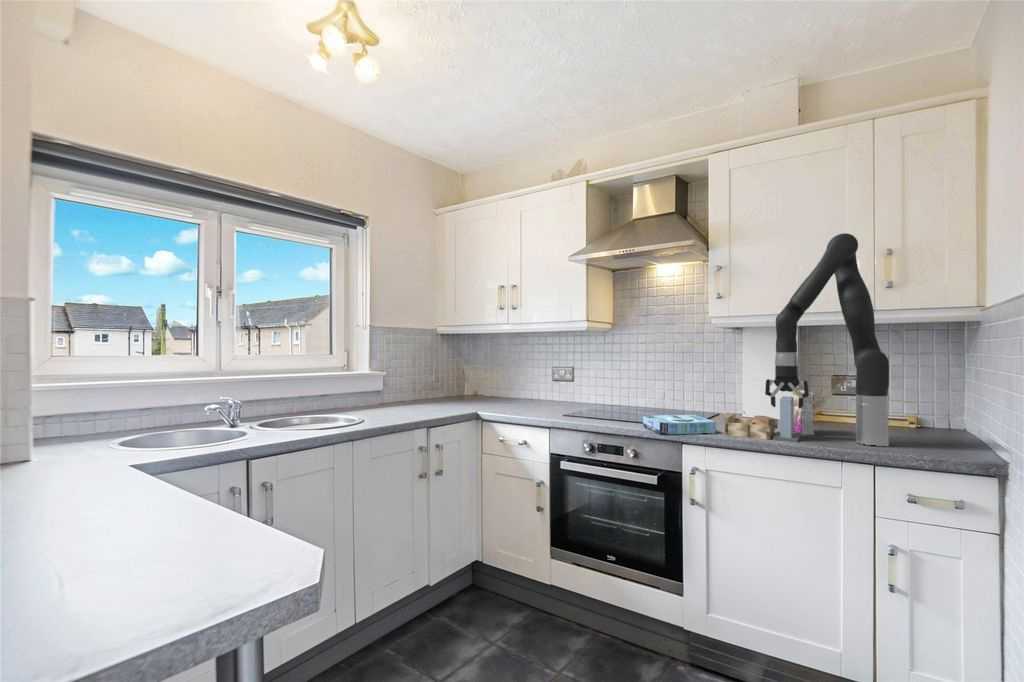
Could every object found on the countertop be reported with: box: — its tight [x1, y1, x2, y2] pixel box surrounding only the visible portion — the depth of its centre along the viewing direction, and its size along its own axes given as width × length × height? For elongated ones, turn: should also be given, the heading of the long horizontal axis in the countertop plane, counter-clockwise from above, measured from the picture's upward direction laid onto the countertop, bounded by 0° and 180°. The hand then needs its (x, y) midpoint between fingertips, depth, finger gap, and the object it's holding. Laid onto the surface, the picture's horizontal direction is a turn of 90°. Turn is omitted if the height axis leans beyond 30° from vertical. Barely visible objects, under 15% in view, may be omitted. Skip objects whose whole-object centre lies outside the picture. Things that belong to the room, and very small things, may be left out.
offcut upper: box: [753, 415, 779, 429], centre depth 192 cm, size 4×8×4 cm, turn 11°
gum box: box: [642, 414, 717, 435], centre depth 207 cm, size 20×5×23 cm
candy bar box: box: [790, 389, 815, 436], centre depth 199 cm, size 11×5×16 cm, turn 168°
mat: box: [772, 431, 802, 443], centre depth 189 cm, size 8×14×1 cm, turn 146°
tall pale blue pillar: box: [779, 395, 795, 438], centre depth 189 cm, size 4×11×14 cm, turn 146°
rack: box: [724, 412, 776, 441], centre depth 196 cm, size 16×15×7 cm
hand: (786, 407), depth 189 cm, fingers open, 8 cm apart
